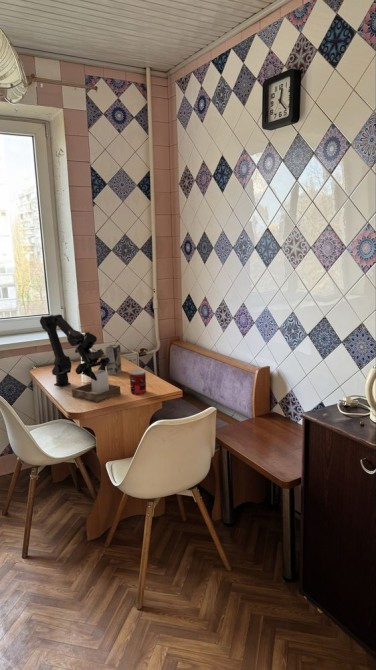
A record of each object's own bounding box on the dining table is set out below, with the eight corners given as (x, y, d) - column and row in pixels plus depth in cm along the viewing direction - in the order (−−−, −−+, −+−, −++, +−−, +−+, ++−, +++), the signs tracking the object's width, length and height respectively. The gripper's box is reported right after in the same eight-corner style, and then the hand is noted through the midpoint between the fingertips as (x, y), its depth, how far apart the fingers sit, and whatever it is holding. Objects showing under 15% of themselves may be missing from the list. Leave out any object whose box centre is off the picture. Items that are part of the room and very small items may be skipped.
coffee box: (116, 375, 276) (115, 348, 273) (106, 374, 277) (104, 347, 274) (122, 370, 285) (120, 344, 281) (111, 370, 286) (110, 344, 283)
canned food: (130, 390, 247) (129, 370, 245) (146, 389, 248) (145, 369, 245) (130, 395, 240) (129, 374, 237) (146, 394, 240) (145, 373, 238)
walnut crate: (72, 396, 239) (71, 389, 239) (95, 388, 252) (95, 381, 251) (97, 403, 229) (96, 395, 228) (120, 394, 242) (120, 386, 241)
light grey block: (91, 391, 239) (90, 372, 237) (101, 388, 244) (100, 369, 242) (99, 393, 235) (98, 374, 233) (108, 390, 240) (107, 371, 238)
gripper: (77, 348, 230) (93, 374, 226) (106, 341, 244) (122, 365, 240) (68, 361, 237) (84, 386, 232) (97, 354, 251) (112, 377, 246)
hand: (101, 378), depth 237 cm, fingers closed on light grey block, 6 cm apart
